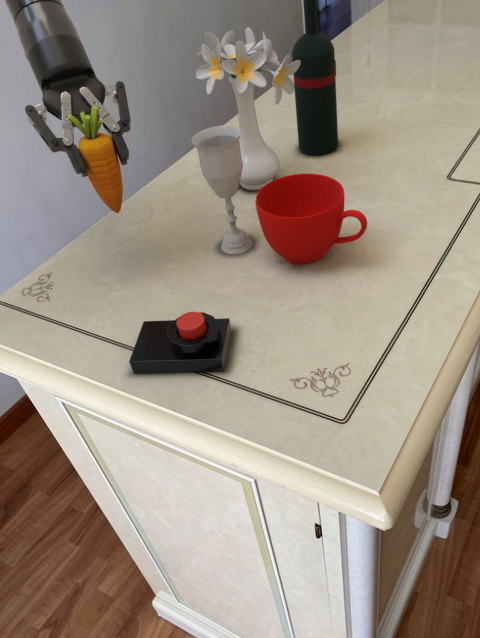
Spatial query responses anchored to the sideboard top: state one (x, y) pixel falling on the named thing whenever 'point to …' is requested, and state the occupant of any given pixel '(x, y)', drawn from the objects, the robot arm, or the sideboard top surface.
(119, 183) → the carrot
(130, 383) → the sideboard top surface
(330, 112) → the wine bottle
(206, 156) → the chalice
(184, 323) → the red short cylinder
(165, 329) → the black flat block
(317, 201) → the ceramic cup
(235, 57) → the flower vase
